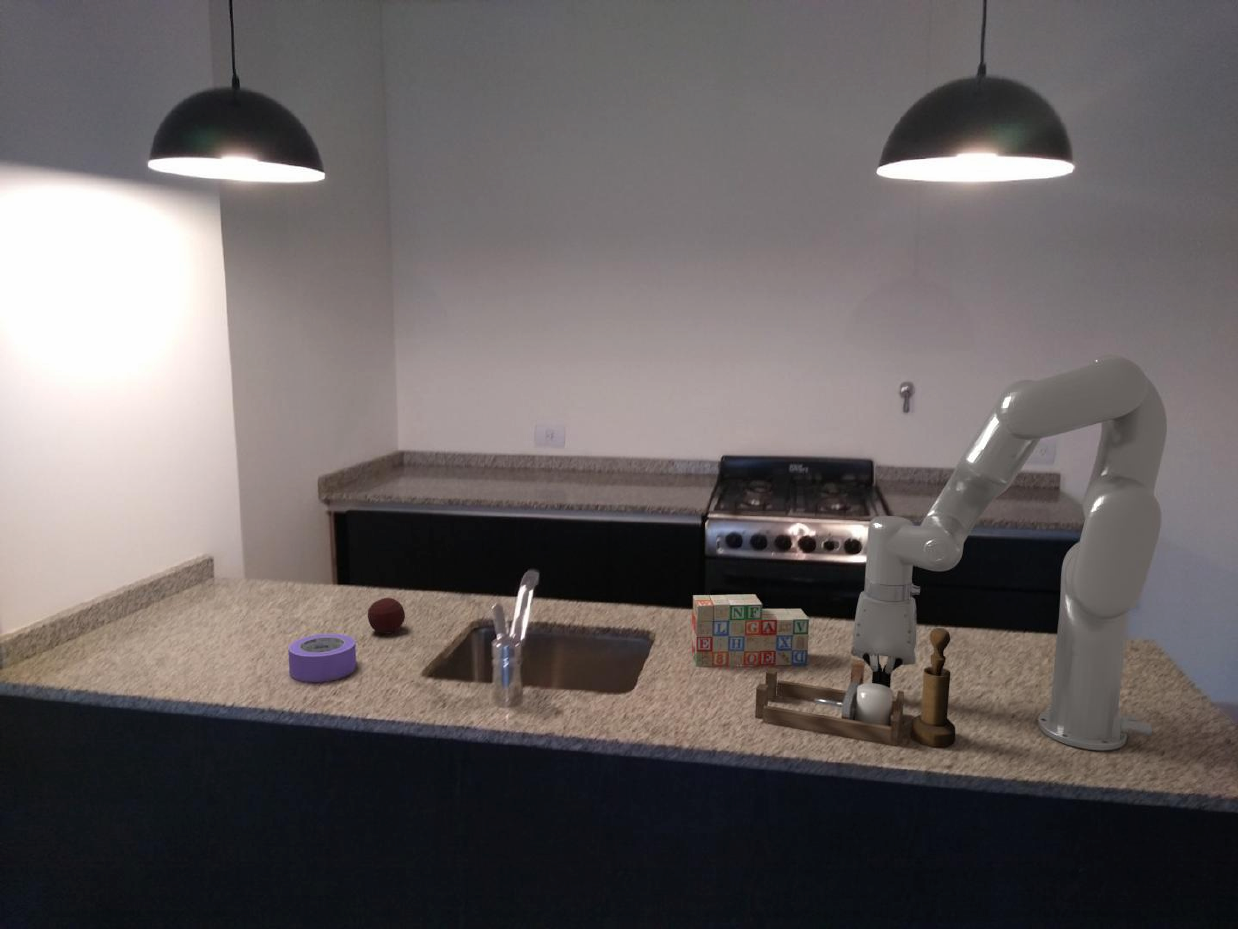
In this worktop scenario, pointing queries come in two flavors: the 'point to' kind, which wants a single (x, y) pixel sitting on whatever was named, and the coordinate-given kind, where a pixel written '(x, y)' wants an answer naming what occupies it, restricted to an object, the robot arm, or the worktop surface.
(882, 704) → the white marshmallow
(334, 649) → the tape roll
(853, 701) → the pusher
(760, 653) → the stack of blocks
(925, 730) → the mortar and pestle
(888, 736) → the lane
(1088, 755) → the worktop surface
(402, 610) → the dark red ball
